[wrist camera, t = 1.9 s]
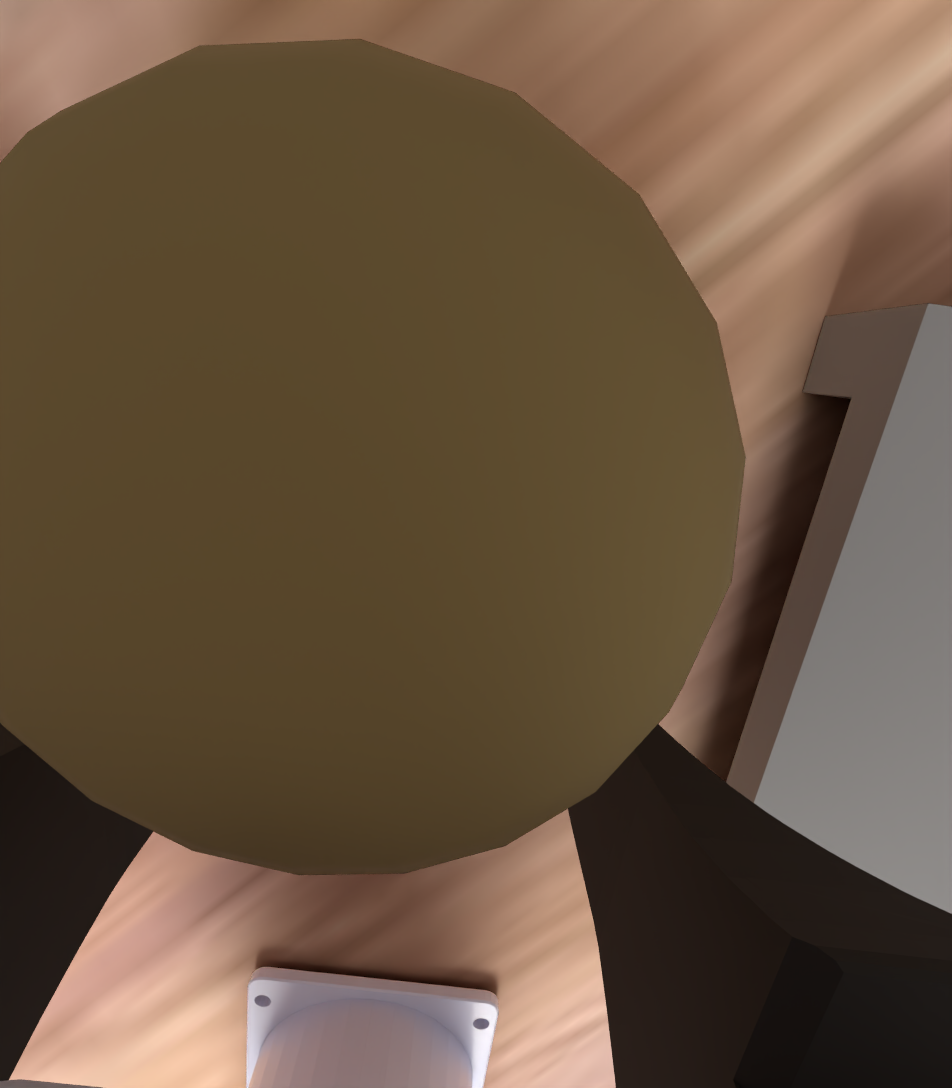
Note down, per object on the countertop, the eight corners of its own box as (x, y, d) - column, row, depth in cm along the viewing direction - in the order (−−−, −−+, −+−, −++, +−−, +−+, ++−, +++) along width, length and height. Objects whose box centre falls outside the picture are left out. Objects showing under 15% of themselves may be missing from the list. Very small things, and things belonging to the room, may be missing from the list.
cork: (277, 292, 12) (-871, -94, 2) (554, 233, 12) (1070, -676, 1) (347, 552, 14) (-33, 1097, 4) (590, 509, 14) (938, 980, 3)
